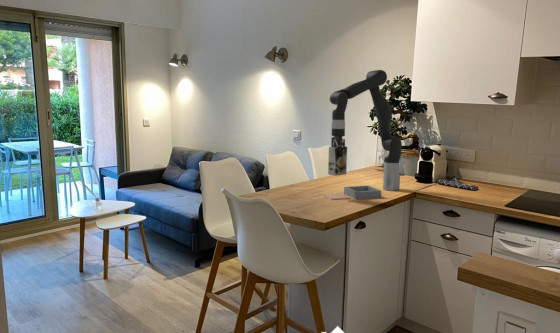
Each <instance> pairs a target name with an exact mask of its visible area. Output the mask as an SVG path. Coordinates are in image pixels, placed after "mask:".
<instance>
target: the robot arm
mask: <svg viewBox="0 0 560 333" xmlns="http://www.w3.org/2000/svg"><path fill="white" fill-rule="evenodd" d="M365 76H366V77H365V79H363V80H360V81H357V82H354V83H352V84H350V85H348V86H347V87H345V88H340V89H338V90H336V91H333V93H331V94H330V97H329V102H330V104H332V105H336V108H335V109H333V110H332V114H331V117H332V118H331V143H330V144H331V146H330V147H335V146H337V147H339V157H343V150H345V147H346V138H343V137H345V136H346V121H345V119H346V116H345V115H346V114H345V113H346V110H347V106H348V102H349V100H351V99H353V98H355V97H357V96H359V95H361V94H363V93H365V92H366V91H368V90H369V93H370V96H371V100H372V103H373V107H374V112H375V115H376V120H377V124H378V128H379V133H380V141H381V146H382V149H384V151H387V152H388V155H387V156H385V157H384V159H383V176H382V180H383V181H382V182H383V183H382V184H383V185H382V190H385V191H393V192H394V191H399V190H400V187H401V186H400V185H401V174H399V173H400V159H401V157H402V150H403V149H402V148H403V147H402V146H403V145H402V140H401V138H400V137H398V136H392V132H391V122H392V119H393V113H392V108H391V105H390V103H389V101H388V100H387V98H385V96H384V95H383V93H382V92H381V88H380V86H383V85H384V84H386V82H387V80H388V74H387V72H386V71H385V70H382V69H376V70H370V71H368V72H366V75H365Z"/></svg>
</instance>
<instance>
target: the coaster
mask: <svg viewBox="0 0 560 333" xmlns="http://www.w3.org/2000/svg"><path fill="white" fill-rule="evenodd" d="M322 196H324V197H326V198H327V199H329V200H330V201H332V200H334V201H335V200H336V201H337V200H346V199H347V200H348V199H350V200H351V198H352V197H350V196H348V195H346V194H344V192H340V193H338V192H337V193H323V195H322Z"/></svg>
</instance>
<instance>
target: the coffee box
mask: <svg viewBox="0 0 560 333" xmlns="http://www.w3.org/2000/svg"><path fill="white" fill-rule="evenodd" d="M347 163H348V146H345V150H343V157H339V147H337V146H335V147H331V146H328V169H327V170H328V171H327V172H328V173H327V175H330V176H335V177H337V176H344V175H347V168H348V166H347V165H348V164H347Z"/></svg>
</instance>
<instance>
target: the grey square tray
mask: <svg viewBox="0 0 560 333" xmlns="http://www.w3.org/2000/svg"><path fill="white" fill-rule="evenodd" d="M343 194H345V195H347V196H349V197H351V198H353V199H354V200H361V199H363V200H364V199H378V198H382V190H381V189H379V188H376V187H374V186H371V185H354V186H344V187H343Z"/></svg>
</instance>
